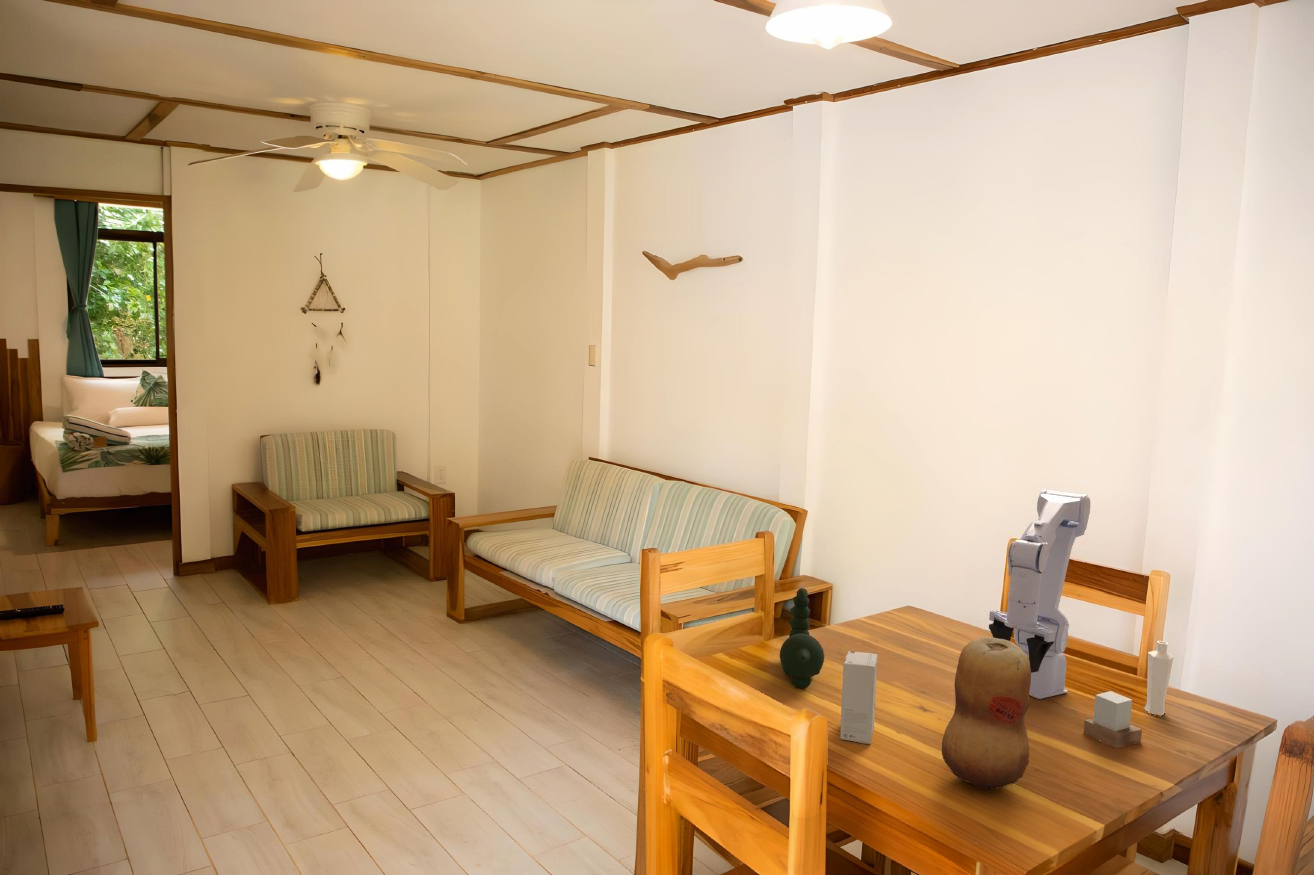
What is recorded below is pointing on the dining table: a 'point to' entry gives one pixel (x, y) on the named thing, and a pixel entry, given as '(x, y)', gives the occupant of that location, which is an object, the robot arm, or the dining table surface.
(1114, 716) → the grey block
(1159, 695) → the perfume bottle
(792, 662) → the toy figurine
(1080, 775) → the dining table surface
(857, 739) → the skincare box
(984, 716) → the butternut squash
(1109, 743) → the walnut slab
